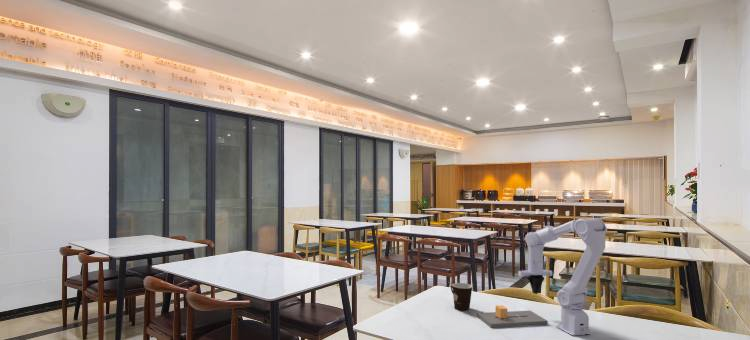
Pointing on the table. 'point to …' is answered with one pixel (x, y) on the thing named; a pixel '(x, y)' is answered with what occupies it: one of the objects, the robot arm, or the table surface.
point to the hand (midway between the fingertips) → (535, 293)
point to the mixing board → (512, 319)
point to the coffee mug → (461, 296)
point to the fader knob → (501, 311)
